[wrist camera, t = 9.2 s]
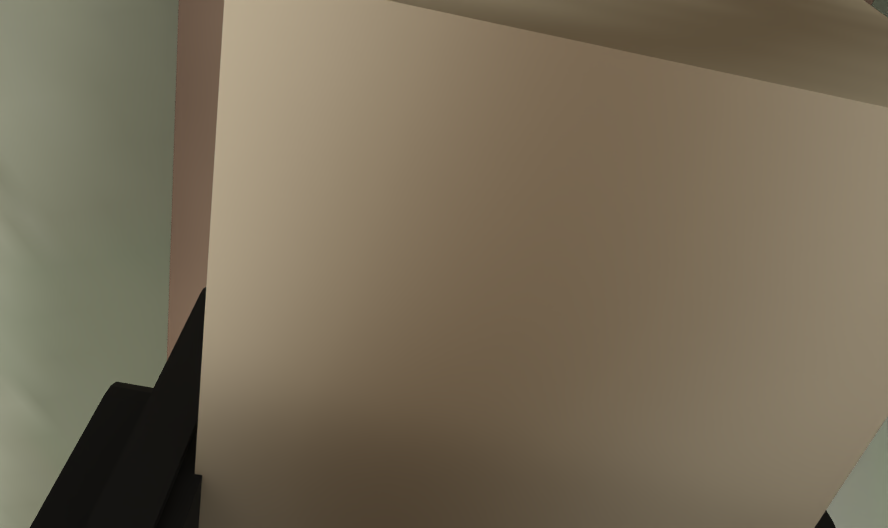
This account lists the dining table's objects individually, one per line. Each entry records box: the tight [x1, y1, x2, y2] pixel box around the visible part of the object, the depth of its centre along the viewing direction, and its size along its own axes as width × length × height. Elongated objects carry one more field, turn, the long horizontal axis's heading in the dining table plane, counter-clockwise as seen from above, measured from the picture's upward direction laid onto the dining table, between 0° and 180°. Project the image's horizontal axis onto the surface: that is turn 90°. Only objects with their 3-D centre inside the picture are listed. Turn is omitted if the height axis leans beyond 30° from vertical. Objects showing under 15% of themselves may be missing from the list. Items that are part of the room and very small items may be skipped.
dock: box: [167, 0, 874, 360], centre depth 20 cm, size 12×22×3 cm, turn 168°
